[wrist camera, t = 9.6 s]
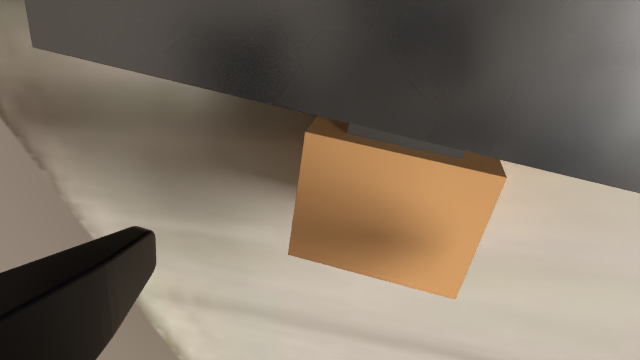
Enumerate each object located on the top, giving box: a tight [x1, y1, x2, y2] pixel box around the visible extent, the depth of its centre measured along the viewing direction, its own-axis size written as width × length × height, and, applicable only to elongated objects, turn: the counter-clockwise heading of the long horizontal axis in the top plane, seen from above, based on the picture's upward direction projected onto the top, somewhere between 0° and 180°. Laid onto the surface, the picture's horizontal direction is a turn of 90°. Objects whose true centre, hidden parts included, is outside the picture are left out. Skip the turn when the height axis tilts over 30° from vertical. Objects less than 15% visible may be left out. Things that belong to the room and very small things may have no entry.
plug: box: [288, 116, 507, 299], centre depth 11 cm, size 5×12×4 cm, turn 171°
